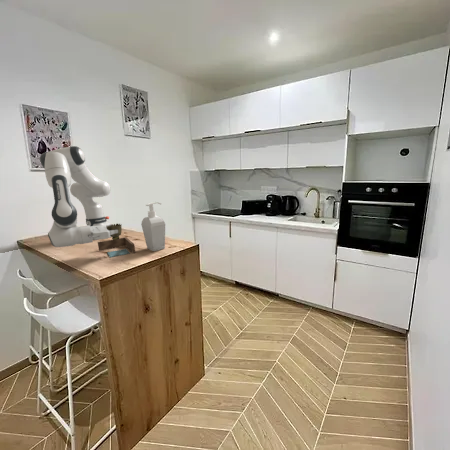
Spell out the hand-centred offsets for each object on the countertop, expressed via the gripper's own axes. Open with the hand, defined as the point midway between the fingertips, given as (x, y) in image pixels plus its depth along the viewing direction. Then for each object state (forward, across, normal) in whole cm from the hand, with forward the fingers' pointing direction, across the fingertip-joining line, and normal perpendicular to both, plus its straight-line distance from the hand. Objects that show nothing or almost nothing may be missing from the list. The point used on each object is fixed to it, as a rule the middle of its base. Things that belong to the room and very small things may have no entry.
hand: (116, 229), depth 136 cm
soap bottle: (+19, -5, +13) cm, 24 cm away
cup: (-1, 0, +5) cm, 5 cm away
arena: (-1, +4, +13) cm, 14 cm away
